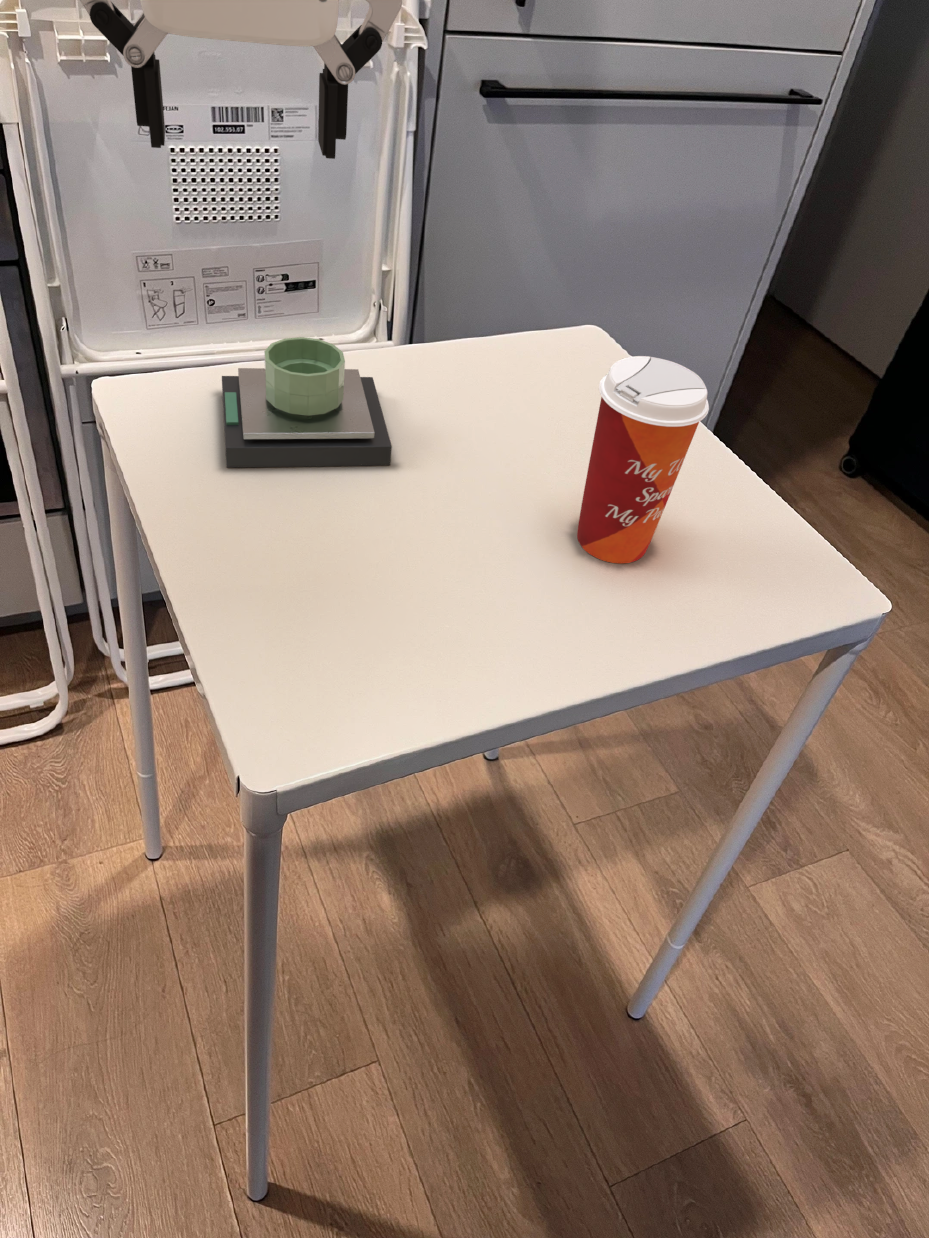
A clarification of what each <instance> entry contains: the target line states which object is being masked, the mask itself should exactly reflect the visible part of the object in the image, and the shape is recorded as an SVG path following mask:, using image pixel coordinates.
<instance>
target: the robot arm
mask: <svg viewBox="0 0 929 1238" xmlns="http://www.w3.org/2000/svg"><path fill="white" fill-rule="evenodd" d="M79 1H80V3H81V5H82V6H83V7H84V9H85V11H86V12H87V14H88V16H89V19H90V22H91V23H92V25H93V26H94V27H95V28H96V29H97V31H99V33H100V34H101V35H103V37H104V38H105V39H106V40H107V41H108V42H109V43H110V44H111V45H112V46H113V47H114V48H115V49H116V50H117V51H118V52H119V53H120V55H122V56H123V59H124V61H125V62H126V63H127V64H128V65H129V66H130V71H131V79H132V90H133V100H134V101H133V102H134V108H135V120H136V125H137V127H148V128H149V137H150V146H151V148H153V149H154V148H155V149H161V148H162V146H163V147H164V146H165V143H166V142H165V139H166V124H165V123H166V122H165V113H164V102H163V101H164V99H163V89H162V88H163V87H162V77H161V75H162V74H161V63H160V59H157V57H156V53H155V51H156V50H157V49H158V47H159V46H160V45H161V43H162V42H163V41H164V39H165V38H166V37H167V35H168V34H171V35H174V36H181V37H188V38H189V37H190V38H198V39H206V40H217V41H218V40H219V41H229V42H238V43H239V42H240V43H251V44H262V45H275V46H288V47H303V48H305V47H306V48H307V47H313V49H314V50H315V51H316V53H317V54H318V56H319V57H320V58H321V60H322V61H323V63H324V65H323V68H322V72H319V73H318V75H319V76H318V77H319V78H318V83H319V85H318V121H317V122H318V125H317V128H318V129H317V130H318V132H317V141H318V145H319V148H320V151H321V155H322V156H323V157H325V159H329V160H330V159H331V160H336V149H337V140H343V141H344V140H346V138H347V129H348V128H347V127H348V104H349V103H348V101H349V84H352V82H353V81H354V79H355V77H356V74H357V73H358V72H360V71H361V69H363V67H365V65H366V64H367V63H368V62H369V61H371V59H372V58H373V57H375V55H376V54H378V53H379V51H380V50H381V49H382V46H383V42H384V40H385V38H386V36H387V35H388V33H389V32H390V30H391V28H392V26H393V24H394V23H395V20H396V18H397V17H398V14H399V12H400V11H401V9H402V6H403V0H365V1H366V2H367V3H368V10H367V13H366V14H365V18H364V20H363V22H362V24H360V25H359V26H358V27H357V28H356V29H355V31H353V32H352V34H350V35H349V36H348V38H347V39H345V40H344V41H343V42H341V41H340V40H339V38H338V36H337V35H336V32H337V28H338V21H339V8H340V7H339V6H340V5H339V4H340V0H139V3H140V7H141V10H142V12H141V14H140V15H139V17H138V18H137V19H136V21H135V22H134V23H132V22H131V21H130V20H129V19H128V17H127V16H125V14H124V13H122V11H121V10H120V9H119V8H118V7H117V6H116V4H114V3H113V2H112V0H79Z"/></svg>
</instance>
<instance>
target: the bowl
mask: <svg viewBox="0 0 929 1238" xmlns="http://www.w3.org/2000/svg"><path fill="white" fill-rule="evenodd" d="M263 353H264V354H263V356H264V368H265V393H266V399H267V401H269V402H270V403H271V404H272V405H273V406H274V407H275V408H277V409H280V410H282V411H285V412H287V413H291V414H298V415H308V416H310V415H318V414H325V413H327V412H329V411H332V410H334V409H336V408H337V407H338V406H339V405H340V403H341V402H342V401H343V395H344V372H345V369H346V359H345V355H344V352H343V350H341V349H340V348H339V347H337V346H336V345H335V344H333V343H331V342H328V341H325V340H322V339H320V338H313V337H305V336H298V337H297V336H296V337H285V338H282V339H280V340H277V341H274V342H272V343H270V344H269V346H268V347H267V348H266V349H265V350H264V352H263Z"/></svg>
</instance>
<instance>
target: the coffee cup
mask: <svg viewBox="0 0 929 1238" xmlns="http://www.w3.org/2000/svg"><path fill="white" fill-rule="evenodd" d="M598 391H599V395H600V403H599V407H598V412H597V418H596V422H595V423H596V424H595V428H594V429H595V430H594V436H593V441H592V446H591V450H590V457H589V460H588V461H589V462H588V467H587V473H586V478H585V483H584V489H583V493H582V494H583V495H582V500H581V506H580V512H579V518H578V524H577V531H576V536H577V541H578V544H579V545H580V547H581V548H582V549H583V550H584V551H585V552H586V553H588V555H591V556H592V557H594V558H596V559H599V560H600V561H603V562H607V563H612V564H629V563H634V562H637V561H639V560H640V559H642V558H643V557H644V555H645V554H646V552H647V550H648V548H649V546H650V544H651V541H652V540H653V537H654V535H655V533H656V531H657V528H658V526H659V522H660V520H661V518H662V516H663V513H664V510H665V508H666V506H667V503H668V501H669V498H670V496H671V493H672V491H673V488H674V486H675V484H676V481H677V479H678V476H679V474H680V471H681V469H682V466H683V464H684V461H685V459H686V455H687V454H688V451H689V448H690V447H691V444H692V441H693V440H694V436H695V434H696V431H697V429H698V426H699V424H700V422H701V421H703V420H704V419H705V418H706V417H707V415H708V413H709V410H710V404H709V401H708V389H707V386H706V384H705V382H704V380H703V379H702V378H701V377H700V376H699V375H698V374H697V373H696V372H695V371H693V370H691V369H689V368H688V367H685V366H684V365H682V364H679V363H677V362H674V361H671V360H668V359H664V358H659V357H654V356H648V355H645V356H644V355H637V356H635V355H634V356H627V357H624V358H621V359H619V360H617V361H615V362H614V363H613V364H612V365H611V366H610V368H609V369H608V372H607V374H605V375H604V376H603V377H602V378H601V379H600V381H599V384H598Z"/></svg>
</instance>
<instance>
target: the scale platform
mask: <svg viewBox="0 0 929 1238" xmlns="http://www.w3.org/2000/svg"><path fill="white" fill-rule="evenodd" d="M237 374H238V375H237V376H239V389H240V402H241V414H242V427H243V439H368V438H374V435H375V432H374V429H373V425H372V421H371V417H370V413H369V409H368V405H367V401H366V398H365V394H364V390H363V386H362V382H361V378H360V377H361V374H360V370H359V369H358V368H357V369H356V368H345V372H344V395H343V401H342V402H341V403H340V405H339V406H338V407H337V408H336V409H334V410H332V411H329V412H327V413H325V414H318V415H310V416H308V415H298V414H291V413H287V412H285V411H282V410H280V409H277V408H275V407H274V406H273V405H272V404H271V403H270V402H269V401H267V399H266V393H265V367H264V368H263V367H262V368H261V367H238V368H237Z"/></svg>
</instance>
